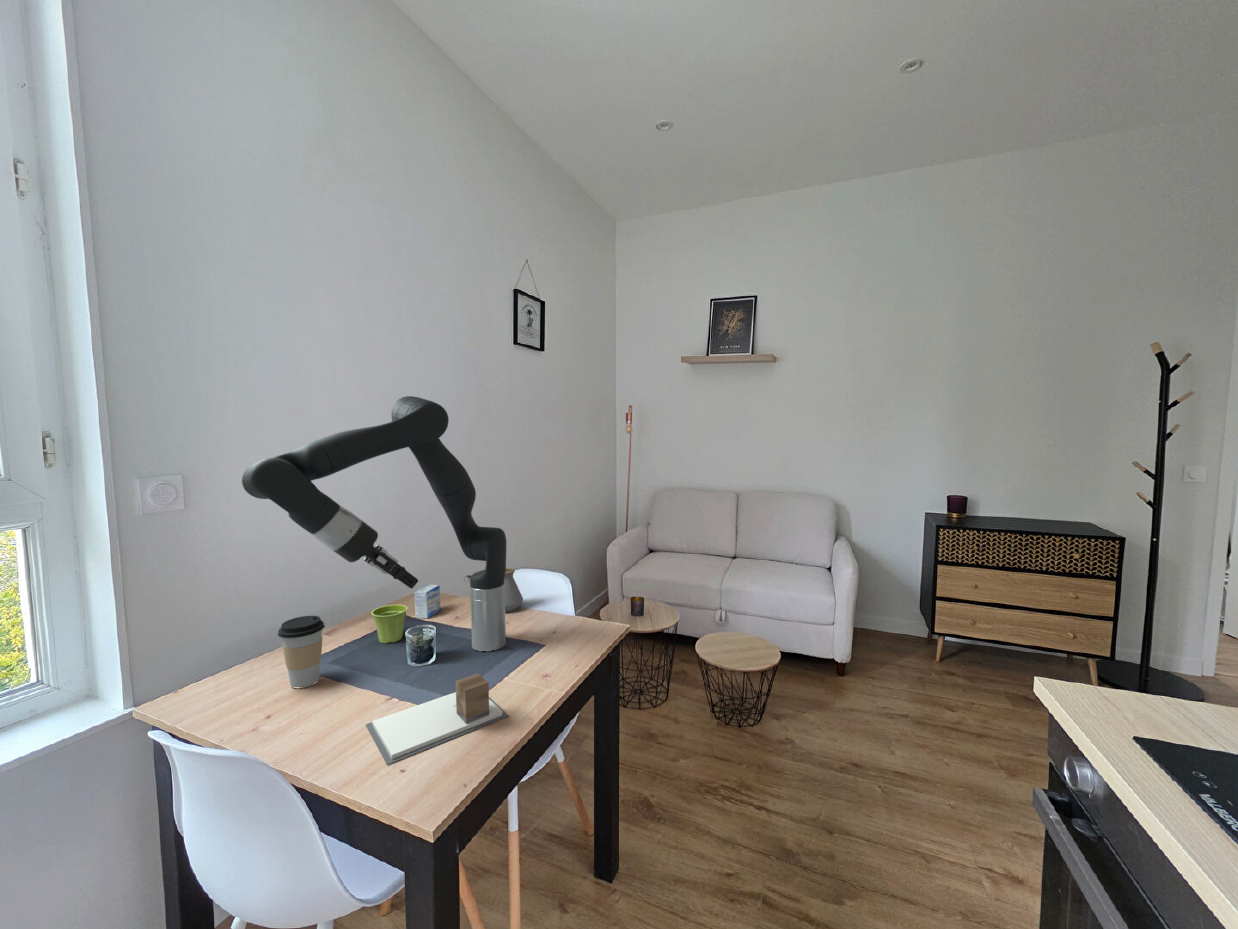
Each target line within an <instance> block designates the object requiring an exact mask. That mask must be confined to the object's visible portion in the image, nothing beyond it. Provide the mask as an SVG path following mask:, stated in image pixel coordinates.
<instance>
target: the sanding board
mask: <svg viewBox="0 0 1238 929" xmlns="http://www.w3.org/2000/svg"><path fill="white" fill-rule="evenodd" d="M509 716H510V715H509V714H508V713H507V712H506V711H505V710H504V709H503V708H501V706H500V705H498V703H496V702H495V701H494V700H493V699H492V698H491V697H490V696H489V715H488V716H485V717H483V718H480V719H478V720H475V721H473V722H470V723H468V724H466V723H465V722H464V721H463V720H462V719H461V718H460V717H459V715H458V714H457V710H456V691H454V692H452V693H450V694H447V695H444V696H440V697H437V698H435V699H433V700H432V699H431V700H429V701H426V702H423V703H421V704H418V705H415V706H412V707H409V708H405V709H403V710H400V711H397V712H393V713H391V714H389V715H385V716H382V717H379V718H376V719H374V720H372V721H371V722H369V723H365V727H366V729H367V731H368V732H369V734H370V736H371V738H372V740H373V742H374V743H375V745H376V747H377V748H378V749H377V750H379V753H380V754H381V756H382V758H383V760H384V761H385V764H386V765H387V766H389V765H392V764H395V763H398V762H399V761H402V760H405V759H407V758H410V757H412V756H416V755H417V754H420V753H421V752H424V751H427V750H429V749H433V748H434V747H437V746H440V745H442V744H445V743H447V742H449V741H452V740H455V739H456V738H459V737H461V736H463V735H466V734H469V733H471V732H474V731H476V730H479V729H482V728H484V727H486V726H488V725H489V726H490V725H492V724H494V723H496V722H499V721H501V720H503V719H502V718H504V719H506V718H508V717H509ZM498 720H499V721H498Z"/></svg>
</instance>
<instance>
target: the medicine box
mask: <svg viewBox="0 0 1238 929" xmlns="http://www.w3.org/2000/svg"><path fill="white" fill-rule="evenodd" d="M413 597H414V608H415V609H414V614H415V617H414V618H415V619H416V618H417V619H426V620H428V619H429V618H431V617H432V616H434V615H436V614H437V613H438V612H440V611H441V586H440V585H439V584H427V585H426V586H423V587H422V588H420V589H418V590H416V591H415V592H414V596H413ZM433 614H434V615H433Z"/></svg>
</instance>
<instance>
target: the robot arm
mask: <svg viewBox="0 0 1238 929" xmlns="http://www.w3.org/2000/svg"><path fill="white" fill-rule="evenodd" d="M449 422H450V421H449V415H448V412H447V411H446V409H445V407H443V406H442V405H441V404H439V403H437V402H435V401H432V400H430V399H425V398H421V397H418V396H411V395H410V396H408V395H406V396H403V397H400V398H398V399H397V400H396V401H395V402H394V404H393V406H392V409H391V421H389V422H386V423H383V424H382V423H381V424H378V425H374V426H368V427H361V428H356V429H350V430H345V431H340V432H336V433H333V434H331V435H328V436H325V437H322V438H320V439H319V438H318V439H316V440H314V441H311V442H309V443H306V444H304V445H303V446H300V447H299V448H296V449H294V450H290V451H288V452H285V453H282V454H279V455H275V456H272V457H266V458H264V459H261V460H259V461H256V462H254V463H252V464H250V465H249V466H248V467H247V468H246V469H245V470H244V471H243V474H242V476H241V477H242V478H241V484H242V487H243V489H244V490H245V492H246V493H247V494H249V495H250V496H252V498H256V499H260V500H269V501H271V502H273V503H274V504H276V505H277V506H278V507H280V508H281V509H283V510H284V511H285V512H287V513H288V517H289V518H290V519H291V520H292V521H293V522H294V523H296V524H297V525H298V526H299V527H300V528H302V529H303V530H305V531H306V532H308V533H309V534H310V535H312V536H313V537H315V539H316V540H318V541H319V542H320V543H321V544H322V545H324V546H326V548H328V549H330V550H331V551H332V552H334V553H336V554H337V555H338V556H340V557H341V558H343V559H344V560H345V561H347V562H348V563H356V562H357V561H359V560H361V558H362V557H365V558H364V559H363V561H364V562H366V563H367V564H368V565H370V566H371V567H372V568H376V569H377V570H379V571H380V572H381V573H383V574H384V575H390V576H392V578H393V579H394V580H398V581H399V582H401V583H403V585H404V586H406V587H407V588H409V589H413V588H414V587H415V586H416V585H417V583H418V582H419V579H418V578H417V577H415V576H414V575H413V574H411V573H410V572H409V571H407V570H406V567H404V566H402V565H400V564H399V561H398V559H396V558H395V557H394V556H392V555H391V554H389V552H388V551H387V549H385V548H384V547H382V546H380V545H379V544H377V545H376V546H374V544H375V543H376V542H377V540H378V536H379V533H378V531H377V530H375V529H374V528H373V527H372V526H370V525H369V524H368V523H366V522H365V521H364V520H362V519H361V518H360V517H358V516H357V515H355V514H354V513H353V512H352V511H350V510H348V509H347V508H345V507H343V506H342V505H340V504H339V503H337V502H336V501H335V500H333V498H331V497H330V496H328V495H327V494H326V493H324V492H322V491H321V490H320V489H319V488H318V487H317V486H316V485H315V484H314V483H313V482H312V481H315V480H319V479H322V478H326V477H329V476H332V475H333V474H336V473H339V472H341V471H343V470H345V469H348V468H350V467H352V466H355V465H357V464H360V463H363V462H365V461H368V460H371V459H373V458H377V457H380V456H382V455H385V454H389V453H392V452H396V451H399V450H403V449H407V448H409V450H410V452H411V453H412V454H413V456H414V457H415V460H416V461H417V463H418V464H419V467H420V468H421V469H420V470H422V473H423V474H424V477H425V478H426V480H427V482H428V483H429V485H430V487H431V490H432V492H433V493H434V495H435V497H436V498H437V500H438V502H439V503H440V505H441V508H442V509H443V510H444V512H445V514H446V516H447V518H448V520H449V522H450V524H451V527H452V528H453V530H454V533H455V536H456V538H457V540H458V543H459V545H460V549H461V551H462V553H463V554H464V556H466V558H467V559H470V560H473V561H480V562H482V561H483V562H485V569H483V570H480V571H479V570H478V571H476V572H474V573H473V574H472V573H471V574H470V576H471V577H470V578H469V589H470V590H469V591H470V621H471V622H470V623H471V624H470V625H471V649H473V650H475V651H476V650H477V652H482V651H486V652H493V651H492V650H494V651H497V650H500V649H502V648H503V647H504V646H506V644H507V637H506V634H507V632H506V612H505V587H504V577H505V572H506V569H507V537H506V533H505V531H504V530H503V529H502V528H500V527H493V526H492V527H491V526H479V525H478V524H477V522H476V521H475V520H474V517H473V514H472V511H473V509H474V504H475V501H476V497H477V491H476V488H475V485H474V483H473V482H472V479H471V477H470V475H469V473H468V471H467V469H466V468H465V467H464V466H463V464H462V463H461V462H460V461H459V459H457V457H456V456H455V455H454V454H453V453H452V452H451V451H450V450H449V449H448V448H447V447H446V446H445V445H444V443H443V442H442V440H441V439H440V438H441V437H442V436H443V435H444V434H445V432H446V431H447V429H448V427H449V426H448V425H449Z"/></svg>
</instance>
